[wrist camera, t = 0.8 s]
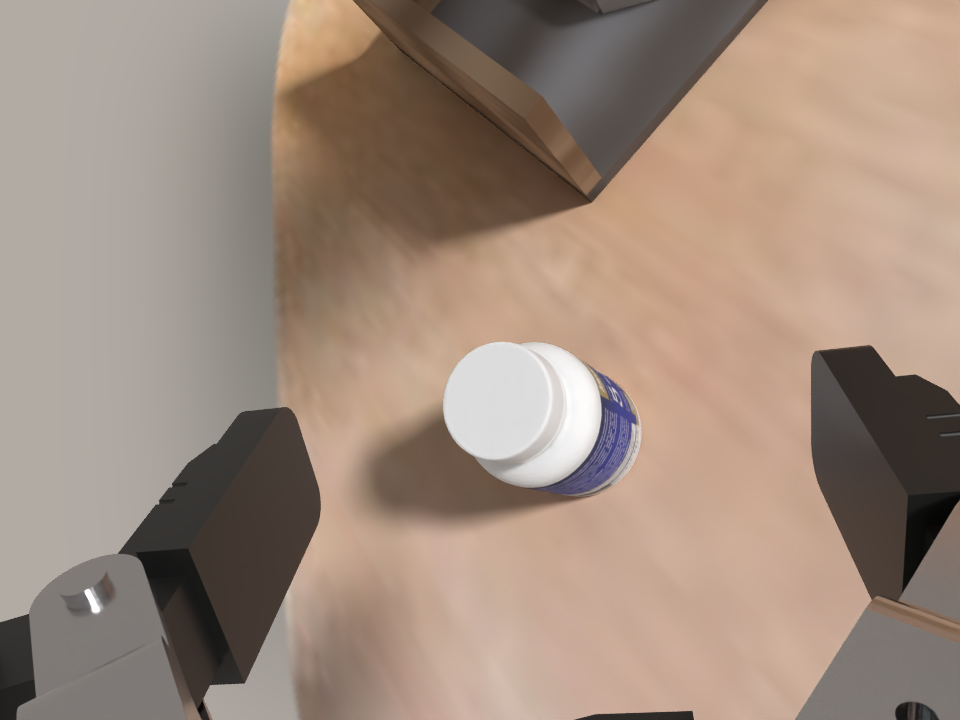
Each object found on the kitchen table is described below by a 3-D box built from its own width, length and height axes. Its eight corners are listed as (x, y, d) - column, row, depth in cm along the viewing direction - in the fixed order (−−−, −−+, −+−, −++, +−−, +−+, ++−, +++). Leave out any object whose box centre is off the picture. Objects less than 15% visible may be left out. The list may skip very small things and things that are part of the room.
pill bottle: (663, 399, 33) (599, 353, 25) (614, 517, 33) (533, 509, 25) (552, 356, 35) (462, 302, 27) (505, 466, 35) (401, 443, 27)
